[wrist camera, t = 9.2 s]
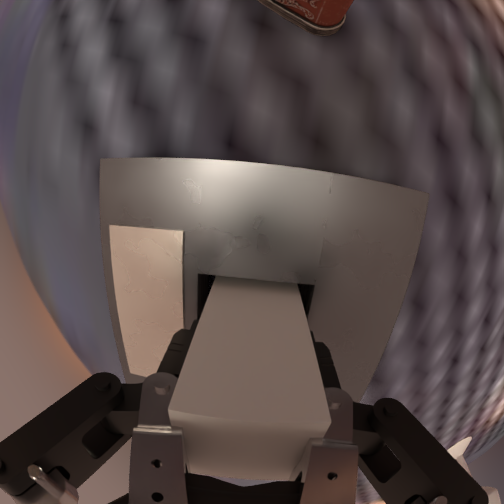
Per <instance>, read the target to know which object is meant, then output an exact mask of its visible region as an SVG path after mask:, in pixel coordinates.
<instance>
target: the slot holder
mask: <svg viewBox="0 0 504 504" xmlns="http://www.w3.org/2000/svg"><path fill="white" fill-rule="evenodd" d="M428 199H429V193H425V192H421V191H417V190H413V189H409V188H405V187H401V186H397V185H392V184H388V183H383V182H378V181H374V180H369V179H364V178H359V177H353V176H348V175H342V174H336V173H330V172H324V171H318V170H311V169H304V168H297V167H289V166H281V165H272V164H262V163H252V162H241V161H228V160H212V159H191V158H109V159H100V227H101V243H102V256H103V266H104V275H105V283H106V290H107V297H108V303H109V309H110V315H111V321H112V326H113V331H114V336H115V340H116V345H117V349H118V354H119V358H120V362H121V366H122V370H123V373H124V377H125V381H126V384H137V383H143V382H144V380H145V379H146V378H147V377H148V376H149V375H151V374H154V373H156V372H157V370H158V368H159V365H160V363H161V361H162V359H163V357H164V354H165V352H166V350H167V348H168V346H169V344H170V341H171V339H172V337H173V335H174V334H175V333H176V332H178V331H179V330H180V329H187V330H190V328H191V325H192V323H193V321H194V319H196V320H200V317H201V314H202V312H203V309H204V306H205V304H206V301H207V298H208V278H209V275H217V276H227V277H236V278H246V279H256V280H266V281H277V282H287V283H299V284H301V287H300V296H301V300H302V303H303V307H304V311H305V315H306V318H307V322H308V326H309V330H310V331H313V335H314V338H315V342H323V343H324V344H325V345H326V346H327V347H328V348H329V350H330V353H331V356H332V359H333V363H334V366H335V369H336V372H337V376H338V379H339V382H340V385H341V389H342V390H344V391H346V392H347V393H348V394H349V395H350V396H351V398H352V400H353V401H354V402H357V403H359V402H360V400H361V398H362V396H363V394H364V392H365V391H366V389H367V387H368V385H369V383H370V381H371V378H372V376H373V374H374V372H375V370H376V368H377V366H378V364H379V361H380V359H381V357H382V355H383V352H384V350H385V348H386V345H387V343H388V340H389V338H390V335H391V333H392V330H393V328H394V325H395V322H396V320H397V317H398V314H399V311H400V309H401V306H402V303H403V300H404V297H405V294H406V291H407V287H408V284H409V281H410V278H411V274H412V271H413V267H414V263H415V260H416V256H417V252H418V248H419V244H420V240H421V235H422V231H423V226H424V221H425V216H426V211H427V205H428Z"/></svg>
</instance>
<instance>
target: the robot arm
mask: <svg viewBox="0 0 504 504" xmlns="http://www.w3.org/2000/svg"><path fill="white" fill-rule="evenodd" d="M198 322H199V320H196V319H194V321H193V323H192V325H191V328H190V330H187V329H180V330H179V331H178V332H176V333H175V334H174V335H173V337H172V339H171V341H170V344H169V346H168V348H167V350H166V352H165V354H164V357H163V359H162V361H161V363H160V365H159V368H158V370H157V372H156V373H154V374H151V375H149V376H148V377H147V378H146V379H145V380H144V382H143V383H137V384H121V382H120V380H119V378H118V377H117V376H115V375H114V374H111V373H107V372H101V373H96V374H94V375H92V376H91V377H90V378H88V379H87V380H85V381H84V382H82V383H81V384H80V385H78V386H77V387H76V388H74V389H73V390H72V391H70V392H69V393H68V394H66V395H65V396H63V397H62V398H61V399H59V400H58V401H57V402H55V403H54V404H53V405H51V406H50V407H48V408H47V409H46V410H44V411H43V412H41V413H40V414H39V415H37V416H36V417H35V418H33V419H32V420H30V421H29V422H28V423H27V424H25V425H24V426H22V427H21V428H20V429H18V430H17V431H16V432H14V433H13V434H11V435H10V436H8V437H7V438H6V439H4V440H3V441H2V442H0V488H2V490H3V491H4V492H6V493H7V494H8V495H10V496H11V497H12V498H13V500H14V501H15V502H16V503H17V504H77V503H78V499H79V496H78V492H77V490H76V489H77V488H78V487H79V486H80V485H81V484H83V483H84V482H85V481H86V480H87V479H88V478H89V477H90V476H91V475H92V474H94V473H95V472H96V471H97V470H98V469H99V468H100V467H101V466H102V465H103V464H104V463H105V462H106V461H107V460H108V459H109V458H110V457H112V455H114V454H115V453H116V452H117V451H118V450H119V449H120V448H121V447H122V446H123V445H124V444H125V443H126V442H127V441H128V440H129V439H130V438H131V437H132V442H131V456H130V474H129V493H127V494H126V495H124V496H122V497H120V498H118V499H116V500H114V501H112V502H110V503H108V504H355V499H356V488H357V473H358V466H359V468H360V469H361V471H362V472H363V473H364V475H365V476H366V477H367V479H368V480H369V482H370V483H371V484H372V486H373V487H374V488H375V490H376V491H377V492H378V494H379V495H380V496H381V498H382V499H383V500H384V502H385V503H386V504H489V498H488V495H487V493H486V492H485V490H484V489H483V488H482V487H481V486H480V485H479V484H478V483H477V482H476V481H475V480H474V479H473V478H472V477H471V476H470V475H469V473H468V472H467V471H466V470H465V469H464V468H463V467H462V466H461V465H460V464H459V463H458V462H457V461H456V460H455V459H454V458H453V457H452V456H451V455H450V453H449V452H448V451H447V450H446V449H445V448H444V447H443V446H442V445H441V444H440V443H439V442H438V441H437V440H436V439H435V438H434V437H433V436H432V435H431V434H430V433H429V431H428V430H427V429H426V428H425V427H424V426H423V425H422V424H421V423H420V422H419V421H418V420H417V419H416V418H415V417H414V416H413V415H412V414H411V413H410V412H409V411H408V409H407V408H406V407H405V406H404V405H403V404H402V403H401V402H399V401H397V400H395V399H392V398H382V399H380V400H378V401H377V402H376V403H375V404H374V406H372V405H366V404H361V403H357V402H354V401H353V400H352V398H351V396H350V395H349V394H348V393H347V392H346V391H344V390H342V389H341V385H340V382H339V379H338V376H337V372H336V369H335V366H334V363H333V359H332V356H331V353H330V350H329V348H328V347H327V346H326V345H325V344H324V343H323V342H315V338H314V335H313V331H310V334H311V338H312V342H313V346H314V349H315V353H316V358H317V362H318V366H319V370H320V374H321V378H322V382H323V387H324V391H325V395H326V400H327V404H328V408H329V413H330V417H331V424H330V426H329V428H328V430H327V431H326V433H325V435H324V437H319V438H309V440H308V442H307V444H306V446H305V450H304V453H303V455H302V457H301V459H300V461H299V463H298V464H297V466H295V467H294V468H293V470H292V472H291V475H290V477H289V480H288V481H276V482H271V483H265V484H260V485H253V486H247V487H242V486H238V485H234V484H231V483H228V482H225V481H222V480H219V479H216V478H213V477H210V476H204V475H197V474H192V473H191V472H190V465H189V459H188V457H187V452H186V447H185V440H184V433H183V427H177V426H171V423H170V418H169V413H168V407H169V404H170V401H171V398H172V395H173V393H174V390H175V387H176V384H177V381H178V378H179V375H180V372H181V370H182V367H183V364H184V361H185V358H186V356H187V353H188V350H189V347H190V344H191V342H192V339H193V336H194V333H195V331H196V328H197V325H198ZM388 447H389V448H390V449H391V450H390V449H389V448H388ZM393 453H394V454H395V455H396V456H395V455H394V454H393ZM398 459H399V460H400V461H399V460H398Z"/></svg>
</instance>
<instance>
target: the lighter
mask: <svg viewBox="0 0 504 504" xmlns="http://www.w3.org/2000/svg"><path fill="white" fill-rule="evenodd" d="M258 1H259V2H260V3H262V4H263V5H265V6H266V7H268V8H269V9H271V10H273V11H274V12H276V13H277V14H279V15H280V16H282V17H283V18H285V19H287V20H288V21H290V22H292V23H294V24H295V25H297V26H299V27H300V28H302V29H304V30H305V31H307V32H309V33H311V34H314V35H319V36H327V35H331V34H334V33H336V32H337V31H338V30H339V29H340V28H341V26H342V25H343V23H344V21H345V19H346V12H347V10H348V9H349V7H350V5H351V4H352V2H353V1H354V0H258Z"/></svg>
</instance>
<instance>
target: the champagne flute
mask: <svg viewBox="0 0 504 504" xmlns="http://www.w3.org/2000/svg"><path fill="white" fill-rule="evenodd" d="M471 439H472V437H468V438H465V439H463V440H461V441H460V442H458V443H457V444H455V445H454V446H452V447H451V448H450V449H448V450H447V451H448V452H449V453H450V455H451V456H452V457H453V458H454V459H457V461H458V463H459V464H460V465H461V466H462V467H463V468H464V469H465V470H466V471H467V472H468V473H469V475H470V476H471V477H472V475H471V473H470V471H469V468H468V466H467V464H466V462H465V460H464V458H463V453H464V451H465V450H466V448H467V446H468V445H469V443H470V441H471ZM472 478H473V477H472ZM481 487H482V488H483V489H484V490H485V492H486V493H487V495H488V498H489V504H501V502H500V498H499V494H498V490H497V489H495V488H493V487H483V486H481Z"/></svg>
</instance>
